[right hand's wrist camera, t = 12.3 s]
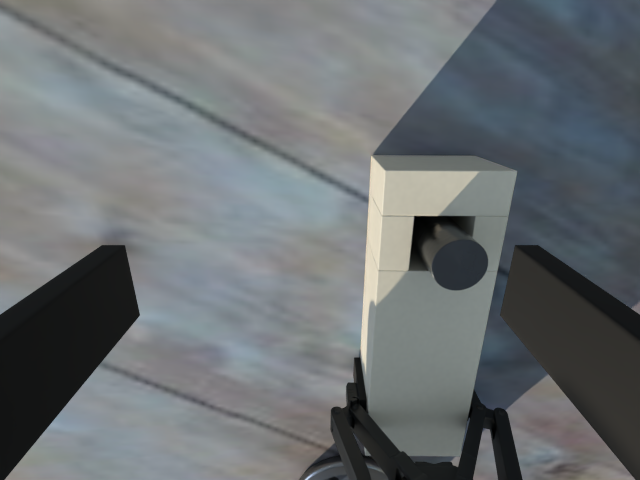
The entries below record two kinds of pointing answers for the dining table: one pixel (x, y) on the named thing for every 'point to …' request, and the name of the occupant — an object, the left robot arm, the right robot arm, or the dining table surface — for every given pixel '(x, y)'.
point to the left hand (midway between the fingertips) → (401, 367)
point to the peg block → (427, 297)
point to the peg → (449, 252)
